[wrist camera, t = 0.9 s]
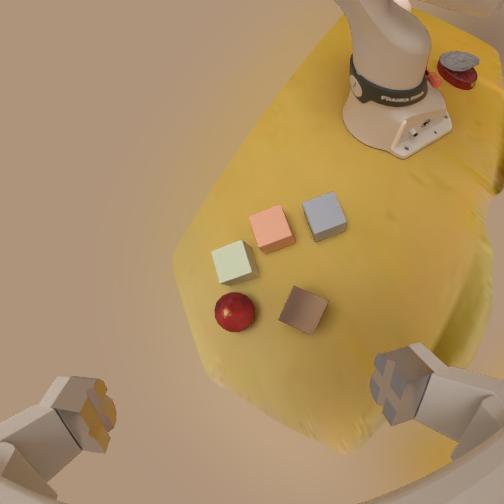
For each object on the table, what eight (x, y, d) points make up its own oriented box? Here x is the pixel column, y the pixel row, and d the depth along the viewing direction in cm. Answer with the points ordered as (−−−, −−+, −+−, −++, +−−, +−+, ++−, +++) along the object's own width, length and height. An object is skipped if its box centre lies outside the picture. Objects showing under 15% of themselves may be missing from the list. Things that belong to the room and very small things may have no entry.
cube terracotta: (285, 214, 46) (280, 204, 42) (295, 243, 45) (291, 235, 40) (256, 225, 47) (248, 216, 42) (265, 254, 46) (258, 247, 41)
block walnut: (327, 302, 42) (328, 300, 32) (315, 329, 42) (312, 335, 32) (301, 290, 43) (293, 285, 34) (288, 317, 43) (278, 320, 33)
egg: (383, 13, 50) (384, -8, 42) (398, 10, 49) (400, -10, 42) (399, 24, 48) (402, 2, 41) (414, 21, 47) (417, 0, 40)
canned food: (451, 100, 46) (448, 80, 39) (432, 68, 48) (425, 46, 40) (488, 89, 39) (489, 67, 31) (467, 57, 40) (464, 33, 33)
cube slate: (333, 203, 45) (333, 191, 40) (344, 231, 43) (347, 221, 39) (304, 213, 45) (301, 202, 41) (315, 242, 44) (314, 234, 39)
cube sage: (250, 246, 47) (241, 239, 42) (259, 275, 45) (251, 271, 41) (222, 257, 48) (211, 251, 43) (231, 286, 46) (220, 283, 42)
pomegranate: (217, 312, 46) (196, 312, 38) (241, 286, 46) (223, 281, 38) (242, 337, 44) (225, 342, 36) (267, 311, 44) (254, 311, 36)
